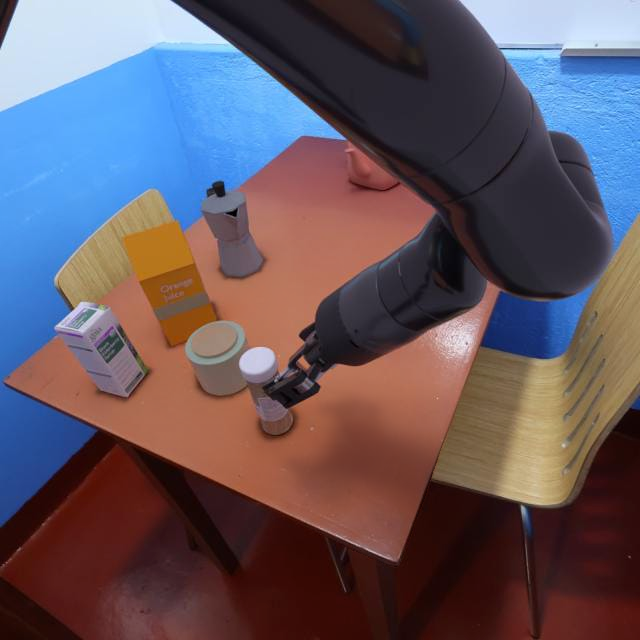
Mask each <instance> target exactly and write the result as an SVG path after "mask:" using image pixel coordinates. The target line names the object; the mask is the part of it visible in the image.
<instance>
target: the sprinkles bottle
mask: <svg viewBox="0 0 640 640" xmlns="http://www.w3.org/2000/svg"><path fill="white" fill-rule="evenodd" d="M239 367H240V370H241V373H242V375H243V377H244V379H245V380H246V382H247V384H248V385H247V387H248V391H249V394H250V397H251V399H252V403H253V405H254V408H255V410H256V413H257V415H258V417H259V419H260V422H261V428H262V429H263V431H264V432H265V433H267V434H269V435H273V436H278V435H282V434H284V433H286V432H288V431H289V430H290V428H291V427H292V425H293V422H294V416H293V413H292V412H291V410H290V408H288V409H285V408H284V407H283V405H281V404H280V403H279V402H278V401H277V400H275V401H273V400H272V399H271V398H270V397H269V396H267V395H266V394H265V393H264V390H263V389H262V387H263V385H264V384H265V383H266V382H267V381H269V380H271V379H272V378H274V377H276V376H277V375H279V374H280V372H279V364H278V359H277V357H276V354H275V353H274V351H273V349H271V348H268V347H266V346H256V347H252V348H250V350H248V351H246V352H245V353H244V354H243V355H242V357H241V358H240V361H239Z"/></svg>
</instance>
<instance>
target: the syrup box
mask: <svg viewBox="0 0 640 640" xmlns="http://www.w3.org/2000/svg"><path fill="white" fill-rule="evenodd" d="M53 328H54V331H55V332H56V333H57V335H58V336H59V337H60V339H61V340H62V341H63V343H64V344H65V345H66V347H67V348H68V350H70V352H71V353H72V355H73V356H74V357H75V359H76V360H77V361H78V362H79V364H80V365H81V367H82V368H83V370H84V371H85V372H86V373H87V375H88V376H89V377H90V379H91V380H92V381H93V383H94V384H95V385H96V387H97V388H98V389H99V391H101V392H105V393H108V394H112V395H115V396H119V397H123V398H129V397H130V395H131V393H132V392H133V391H134V389H135V388H136V387H137V386H138V385H139V383H140V382H141V381H142V380H143V379H144V377H145V376H146V375H147V374H148V372H149V369H148V367H147V366H146V365H145V363H144V361H143V360H142V358H141V356H140V355H139V353H138V351H137V349H136V348H135V346H134V345H133V343H132V341H131V340H130V338H129V336H128V335H127V333H126V332H125V330H124V328H123V326H122V325H121V323H120V322H119V320H118V318H117V317H116V315H115V313H114V312H113V310H112V309H111V307H110V306H108V305H104V304H99V303H94V302H88V301H80V302H79V303H78V304H77V306H76V307H75V308H73V310H72V311H70V312H69V313H68V314H67V315H66V316H64V318H63V319H62V320H61V321H60V322H58V323H57V324H56V325H55V326H54V327H53Z"/></svg>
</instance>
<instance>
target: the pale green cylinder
mask: <svg viewBox="0 0 640 640" xmlns="http://www.w3.org/2000/svg"><path fill="white" fill-rule="evenodd" d="M184 347H185V348H184V352H185V355H186V358H187V360H188V362H189V363H190V365H191V368H192V370H193V371H194V374H195V376H196V378H197V380H198V382H199V385H200V386H201V388H202V389H203V390H204V392H206V393H207V394H209V395H213V396H216V397H217V396H219V397H221V396H229V395H233V394H236V393H238V392H240V391H242V390H243V389H244V388H246V387H248V384H247V382H246V380H245V379H244V377H243V375H242V373H241V370H240V367H239V361H240V358H241V357H242V355H243V354H244V353H245V352H246V351H248V350H250V349H251V348H250V344H249V342H248V339H247V335H246V332H245V330H244V328H243V327H242V326H241V325H240V324H238V323H237V322H234V321H230V320H217V321H216V322H212V323H209V324H206V325H204V326H202V327H200V328H199V329H197V330H196V331H195V332H194V333H193V334H192V335H191V336H190V337H189V339H188V340H187V341H186V343H185V346H184Z"/></svg>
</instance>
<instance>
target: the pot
mask: <svg viewBox="0 0 640 640" xmlns="http://www.w3.org/2000/svg"><path fill="white" fill-rule="evenodd" d="M346 145H347V148H346V149H344V152H345V153H347V176H348V177H349V180H350V181H351V182H352V183H353V184H357V185H359V186H363V187H367V188H370V189H374V190H379V191H384V190H385V191H386V190H388V189H390V188H392V187H393V186H396V185H397V184H398V183H399V182H398V181H397V180H396V179H395V178H393V177H392V176H391V175H389V174H388V173H387V172H386V171H384V170H383V169H382V168H381V167H379V166H378V165H377V164H376V163H375V162H373V161H372V160H371V159H370V158H369V157H367V156H366V155H365V154H364V153H362V152H361V151H360V150H359V149H358V148H356V147H355V146H354V145H353V144H352V143H350V142H349V141H348V140H347V139H346Z"/></svg>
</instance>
